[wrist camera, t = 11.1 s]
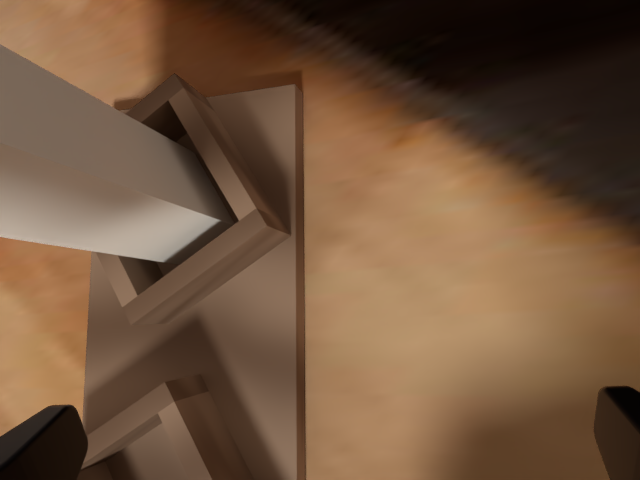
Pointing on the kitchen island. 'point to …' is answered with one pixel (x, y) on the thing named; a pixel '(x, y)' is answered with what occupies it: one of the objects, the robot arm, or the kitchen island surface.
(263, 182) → the double compartment tray
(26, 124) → the beige rectangular block
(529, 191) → the kitchen island surface
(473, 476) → the kitchen island surface
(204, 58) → the kitchen island surface
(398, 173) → the kitchen island surface
